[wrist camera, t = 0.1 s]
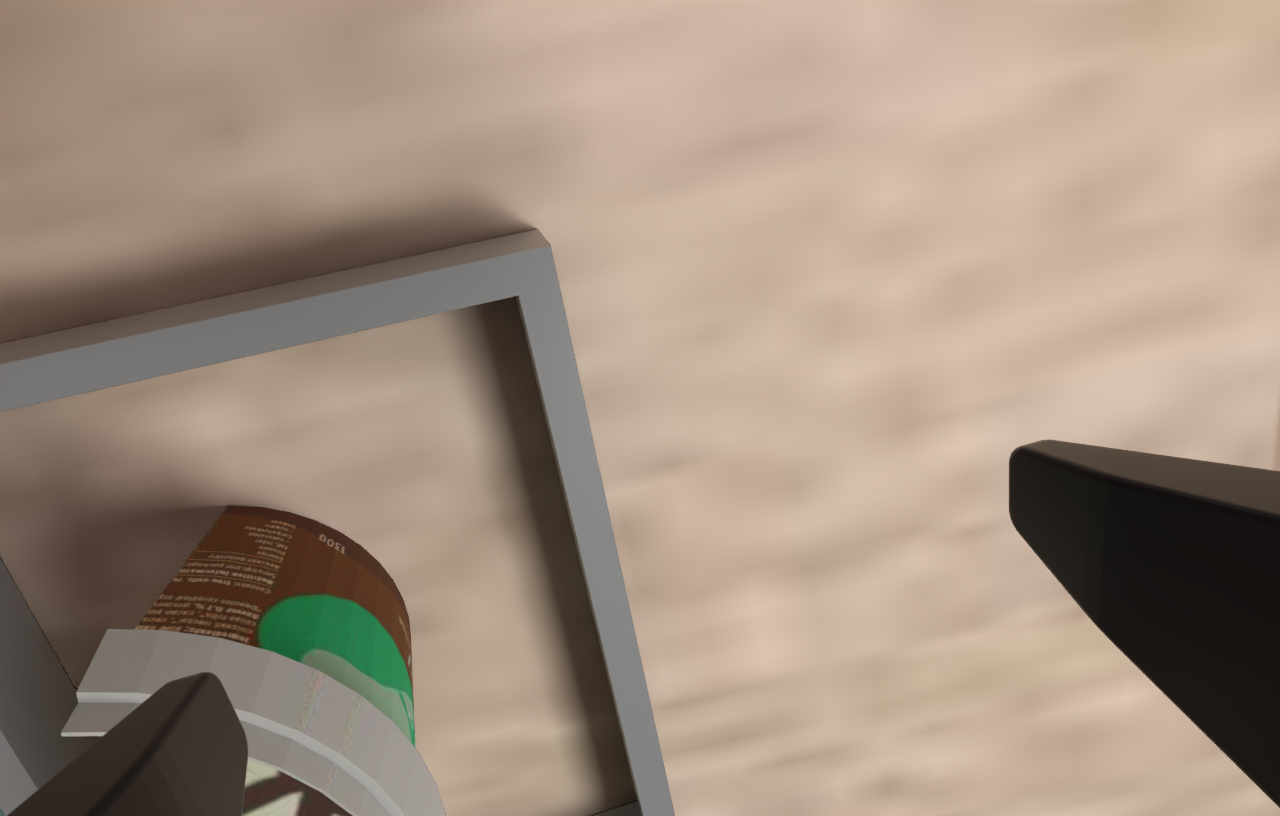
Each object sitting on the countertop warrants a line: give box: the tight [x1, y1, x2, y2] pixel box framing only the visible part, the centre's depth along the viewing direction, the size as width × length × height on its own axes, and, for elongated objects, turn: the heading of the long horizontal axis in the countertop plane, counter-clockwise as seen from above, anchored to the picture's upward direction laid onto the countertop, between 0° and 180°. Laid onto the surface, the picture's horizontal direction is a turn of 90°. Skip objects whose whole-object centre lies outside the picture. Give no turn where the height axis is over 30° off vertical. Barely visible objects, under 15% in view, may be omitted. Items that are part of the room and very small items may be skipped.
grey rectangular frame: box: [0, 229, 675, 816], centre depth 23 cm, size 22×17×3 cm
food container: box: [61, 506, 446, 816], centre depth 20 cm, size 12×6×10 cm, turn 174°
